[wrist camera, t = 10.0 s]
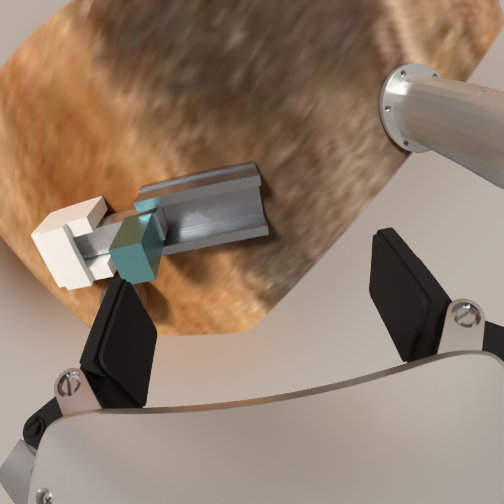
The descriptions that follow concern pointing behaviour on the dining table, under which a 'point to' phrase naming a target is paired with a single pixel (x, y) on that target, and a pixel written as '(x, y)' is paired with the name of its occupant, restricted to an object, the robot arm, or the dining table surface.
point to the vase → (138, 288)
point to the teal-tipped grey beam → (129, 242)
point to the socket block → (73, 244)
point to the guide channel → (207, 207)
